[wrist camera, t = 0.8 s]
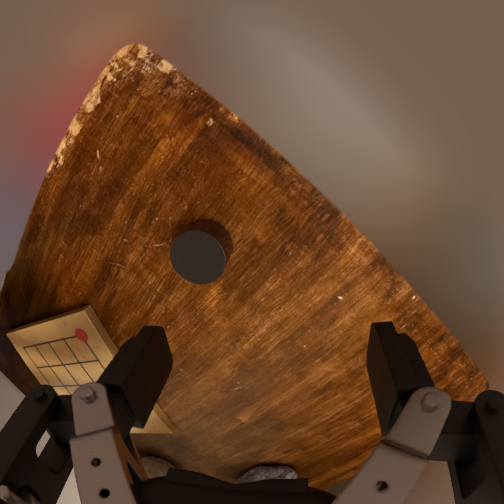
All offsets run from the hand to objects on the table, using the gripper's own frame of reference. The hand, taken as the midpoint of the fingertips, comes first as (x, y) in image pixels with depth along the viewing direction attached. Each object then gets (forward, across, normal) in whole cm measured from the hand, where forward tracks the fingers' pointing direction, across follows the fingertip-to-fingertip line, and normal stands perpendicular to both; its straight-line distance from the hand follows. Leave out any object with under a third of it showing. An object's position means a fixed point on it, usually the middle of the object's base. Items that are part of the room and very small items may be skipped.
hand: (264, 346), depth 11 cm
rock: (+17, +4, +44) cm, 47 cm away
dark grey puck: (+17, +7, +2) cm, 18 cm away
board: (+17, +30, +22) cm, 41 cm away
